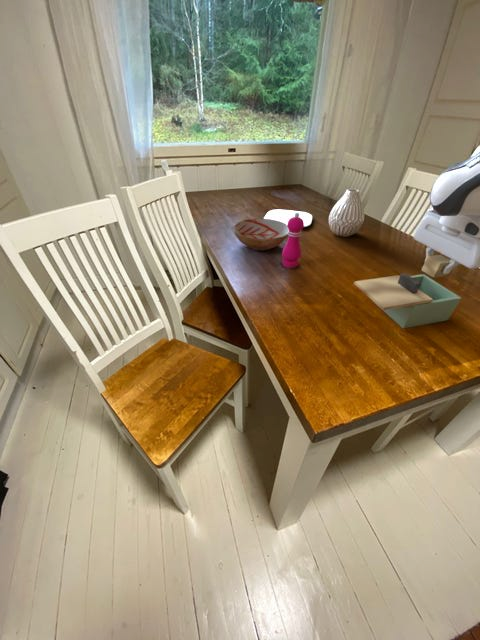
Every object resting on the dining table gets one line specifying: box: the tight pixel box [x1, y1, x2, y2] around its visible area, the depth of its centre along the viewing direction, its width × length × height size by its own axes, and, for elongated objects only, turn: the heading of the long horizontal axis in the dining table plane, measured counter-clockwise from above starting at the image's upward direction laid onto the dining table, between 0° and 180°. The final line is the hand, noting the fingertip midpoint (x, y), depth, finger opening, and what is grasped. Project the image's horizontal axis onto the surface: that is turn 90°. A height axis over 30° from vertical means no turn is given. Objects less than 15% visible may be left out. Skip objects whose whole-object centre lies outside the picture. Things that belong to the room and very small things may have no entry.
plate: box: [263, 209, 313, 228], centre depth 148 cm, size 25×25×2 cm
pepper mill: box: [281, 213, 305, 268], centre depth 103 cm, size 7×7×20 cm
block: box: [421, 254, 451, 279], centre depth 76 cm, size 4×4×4 cm
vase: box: [328, 188, 365, 238], centre depth 128 cm, size 16×16×20 cm
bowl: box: [232, 217, 289, 252], centre depth 120 cm, size 25×25×8 cm
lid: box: [353, 272, 433, 311], centre depth 77 cm, size 14×16×4 cm
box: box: [372, 273, 462, 329], centre depth 83 cm, size 14×16×8 cm
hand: (436, 267), depth 77 cm, fingers closed on block, 4 cm apart
